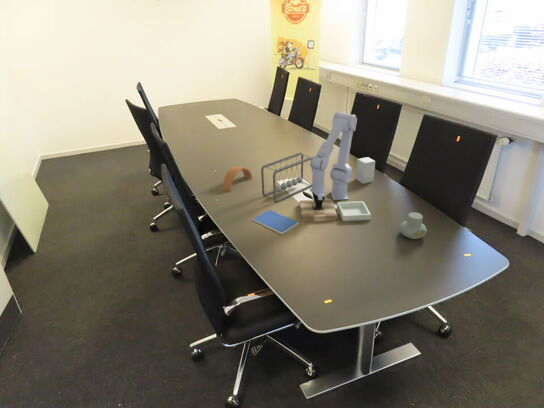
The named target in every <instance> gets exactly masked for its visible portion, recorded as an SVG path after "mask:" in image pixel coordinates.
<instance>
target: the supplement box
mask: <svg viewBox="0 0 544 408" xmlns="http://www.w3.org/2000/svg"><path fill="white" fill-rule="evenodd" d="M375 169H376V160H374V159H372V158H370V157H369V156H367V157H361V158H357V160H356V170H355V171H356V173H355V180H356V181H358V182H360V184H362V185H363V184H368V183H369V184H370V183H372V182H374V179H375V178H374V177H375Z"/></svg>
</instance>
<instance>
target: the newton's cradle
mask: <svg viewBox="0 0 544 408" xmlns="http://www.w3.org/2000/svg"><path fill="white" fill-rule="evenodd" d="M304 156H305V158H304ZM299 157H301V158H300V159H299ZM312 157H313V156H309V155H306V154H304V153H303V152H301V151H300V152H298V153H294V154H292V155H290V156H287V157H284V158H280V159H279V160H275V161H273V162H270V163H267V164H264V165H263V166H261V170H260V172H261V173H260V175H261V190H262V191H261V193H262V196H264V197H269V198H271V199H272V200H273V201H274V203H279V202H281V201H284V200H285V199H288V198H289V197H293V196H294V195H297V194H299V193H301V192H303V191H305V190H308V189H311V188H312V184H310V183H307V182H305V181H303V179H304V163H306V162H309V161H311V159H312ZM294 158H296V160H295V162H293V161H294ZM297 158H298V159H299V160H298V159H297ZM289 160H291V161H290V163H289ZM297 160H298V161H297ZM283 162H286V163H285V164H284V163H283ZM287 162H288V163H289V164H287ZM282 163H283V165H284V166H279V165H278V164H280V165H282ZM299 165H300V166H301V168H300V173H299V172H295V176H296V175H297V174H298V176H297V177H295V176H294V174H292V173H290V174H289V171H286V170H288V169H290V170H291V171H294V169H293V168H294V167H295V166H296V168H295V170H298V167H299ZM273 166H275V167H274V169H273V168H271V167H273ZM276 166H277V167H279V168H276ZM265 168H267V169H269V170H271V171H273V174H272V186H273V187H272V189H273V190H271V191H269V192H267V193H265V178H264V176H265V175H264V169H265ZM283 171H286V173H285V174H284V175H285V176H284V175H281V176H282V177H281V178H282V179H284V178H283V176H284V177H286V175H289V177H291V176H292V177H293V178H292V179H290V178H287V179H288V180H287V181H286V182H285V180H283V182H282V183H281V184H279V183H277V185H276V179H278V177H277V173H280V174H282V172H283ZM296 173H297V174H296ZM291 174H292V175H291ZM281 178H280V177H279V179H278V181H280V179H281ZM301 183H303V184H306V185H308V186H306V187H304V188H301V189H299V190H297V191H295V192H291V193H290V194H288V195H285V196H283V197H281V198H279V199H277V197H276V196H277V195H276V193H280V192H281V191H282V190H283V191H286V190H287V189H288V188H292V187H293V186H294V187H295V186H296V185H298V184H301ZM272 194H273V197H272V196H269V195H272Z"/></svg>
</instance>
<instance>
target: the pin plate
mask: <svg viewBox="0 0 544 408" xmlns="http://www.w3.org/2000/svg"><path fill="white" fill-rule="evenodd" d="M314 205H315V203H314V199H307V200H305V199H303V200H299V209H300V214H301V219H302V222H319V221H323V222H324V221H338V220H337V219H338V214H337V212H336V209H335V206H334V203H333V201H332V199H331V198H330V199H329V198H328V199H326V198H325V199H324V200H323V202H322V205H321V210H314Z"/></svg>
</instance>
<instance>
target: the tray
mask: <svg viewBox="0 0 544 408" xmlns="http://www.w3.org/2000/svg"><path fill="white" fill-rule="evenodd" d="M336 207H337V211H338V213H339V216H340V218H341V220H342V222H355V221H356V222H358V221H359V222H360V221H362V222H363V221H371V218H372V215H371V212H370V210H369V209H368V206H367V205H366V203H365V202H364V201H362V200H360V201H359V200H358V201H340V202H339V201H338V202H337V205H336Z"/></svg>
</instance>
